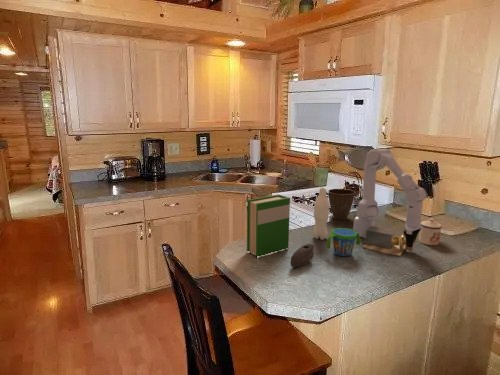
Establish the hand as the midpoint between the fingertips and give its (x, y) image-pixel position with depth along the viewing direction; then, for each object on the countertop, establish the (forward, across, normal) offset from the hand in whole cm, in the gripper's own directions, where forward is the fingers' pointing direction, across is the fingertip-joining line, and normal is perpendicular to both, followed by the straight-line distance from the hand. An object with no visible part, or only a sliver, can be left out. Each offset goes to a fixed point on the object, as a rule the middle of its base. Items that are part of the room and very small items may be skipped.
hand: (410, 245), depth 152 cm
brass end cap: (+2, 0, +6) cm, 7 cm away
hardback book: (+4, -36, +52) cm, 63 cm away
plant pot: (+4, +30, +44) cm, 53 cm away
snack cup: (+4, -19, +24) cm, 30 cm away
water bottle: (+4, -7, +40) cm, 40 cm away
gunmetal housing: (+3, 0, +12) cm, 13 cm away
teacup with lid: (+4, +20, -6) cm, 21 cm away
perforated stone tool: (+4, -39, +34) cm, 52 cm away
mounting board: (+3, 0, +10) cm, 11 cm away
